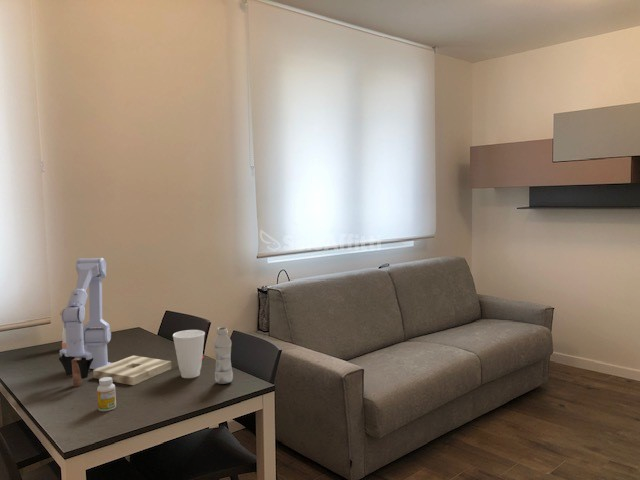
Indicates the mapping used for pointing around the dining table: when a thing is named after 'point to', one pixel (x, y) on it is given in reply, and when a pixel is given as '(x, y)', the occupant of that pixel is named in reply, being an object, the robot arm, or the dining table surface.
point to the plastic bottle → (223, 357)
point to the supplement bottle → (106, 394)
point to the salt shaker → (63, 336)
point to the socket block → (133, 369)
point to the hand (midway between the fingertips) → (77, 376)
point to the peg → (76, 374)
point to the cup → (189, 351)
